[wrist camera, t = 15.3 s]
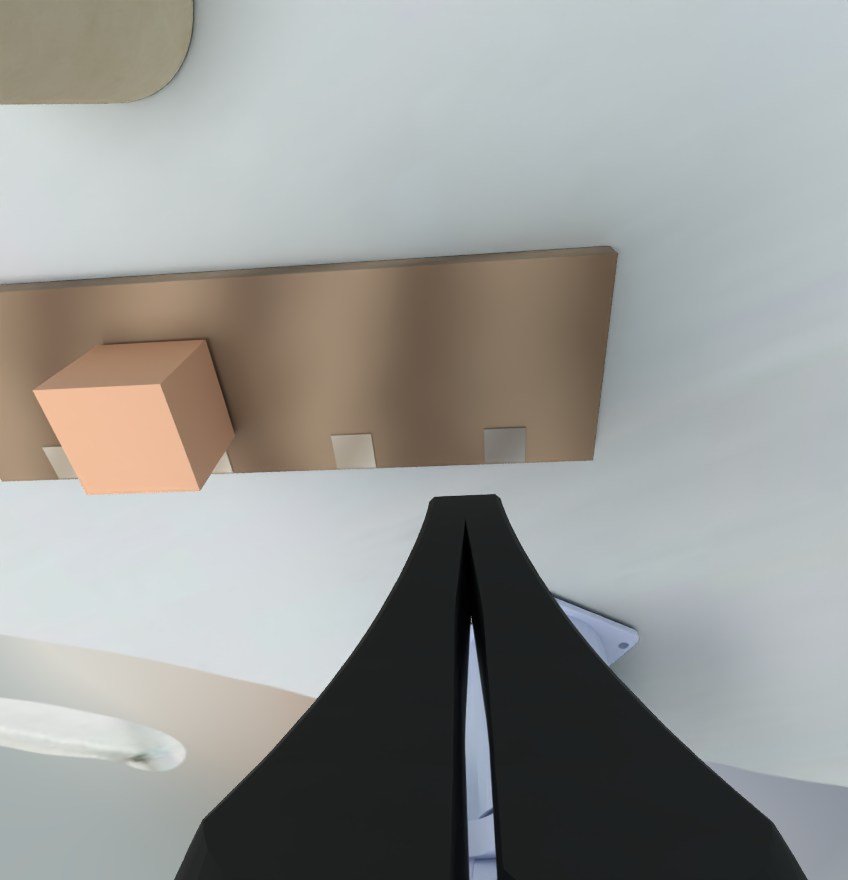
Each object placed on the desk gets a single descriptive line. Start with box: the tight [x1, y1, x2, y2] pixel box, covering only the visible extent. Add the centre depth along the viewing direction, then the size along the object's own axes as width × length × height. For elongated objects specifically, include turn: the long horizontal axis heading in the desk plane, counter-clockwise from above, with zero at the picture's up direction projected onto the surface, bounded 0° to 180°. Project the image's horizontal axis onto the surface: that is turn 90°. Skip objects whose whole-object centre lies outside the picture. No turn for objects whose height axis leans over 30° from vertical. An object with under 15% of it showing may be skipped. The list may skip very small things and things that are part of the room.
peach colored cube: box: [33, 340, 235, 495], centre depth 18 cm, size 4×4×4 cm
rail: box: [0, 246, 618, 481], centre depth 20 cm, size 25×8×1 cm, turn 94°
